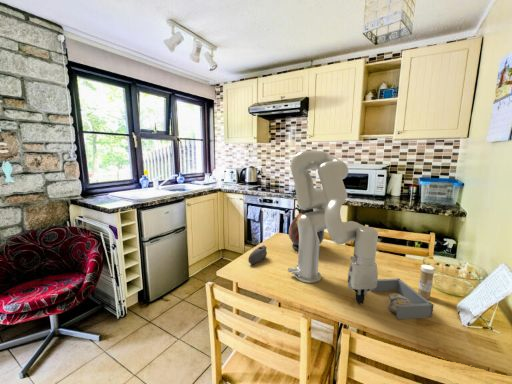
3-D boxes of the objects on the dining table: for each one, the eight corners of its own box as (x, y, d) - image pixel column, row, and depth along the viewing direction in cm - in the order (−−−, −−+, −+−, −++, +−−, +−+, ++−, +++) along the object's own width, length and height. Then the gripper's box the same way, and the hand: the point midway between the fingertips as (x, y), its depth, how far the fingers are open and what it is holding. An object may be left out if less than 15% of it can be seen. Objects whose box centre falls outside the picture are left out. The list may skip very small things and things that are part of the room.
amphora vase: (327, 246, 153) (330, 203, 148) (317, 259, 134) (320, 210, 130) (295, 239, 163) (297, 199, 159) (282, 250, 145) (283, 205, 140)
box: (398, 319, 87) (399, 307, 86) (369, 290, 105) (370, 279, 104) (431, 317, 88) (433, 304, 87) (397, 288, 106) (399, 278, 105)
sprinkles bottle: (414, 293, 103) (418, 264, 101) (424, 292, 103) (428, 263, 101) (423, 299, 98) (427, 269, 96) (433, 299, 99) (437, 269, 97)
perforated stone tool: (252, 267, 124) (252, 254, 123) (244, 264, 128) (244, 252, 127) (269, 257, 136) (269, 246, 135) (262, 255, 139) (262, 243, 138)
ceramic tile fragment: (383, 289, 100) (411, 294, 97) (383, 296, 101) (410, 301, 98) (389, 307, 89) (421, 313, 86) (388, 315, 90) (420, 321, 86)
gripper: (350, 264, 87) (345, 309, 91) (388, 263, 89) (382, 307, 92) (340, 255, 95) (337, 297, 98) (376, 254, 96) (371, 295, 100)
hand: (359, 301), depth 95 cm, fingers closed
